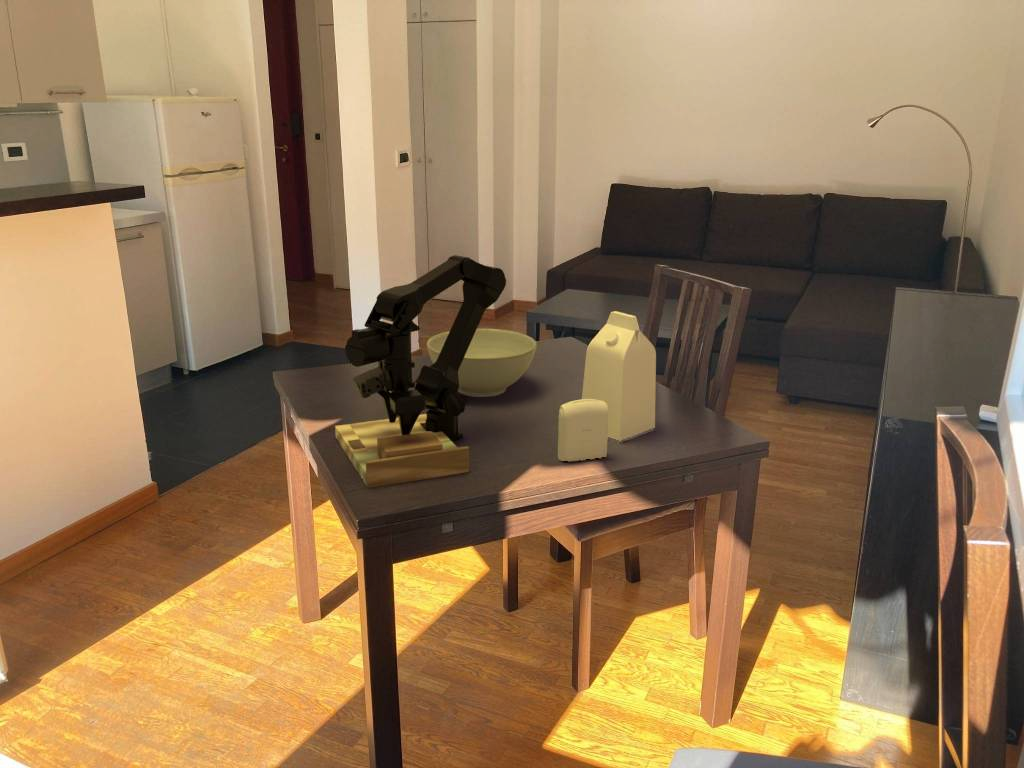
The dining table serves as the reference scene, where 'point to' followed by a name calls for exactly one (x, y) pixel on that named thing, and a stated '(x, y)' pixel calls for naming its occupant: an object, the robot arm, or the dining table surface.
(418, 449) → the walnut block
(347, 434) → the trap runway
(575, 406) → the photo printer
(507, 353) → the decorative bowl
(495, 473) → the dining table surface
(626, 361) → the milk
